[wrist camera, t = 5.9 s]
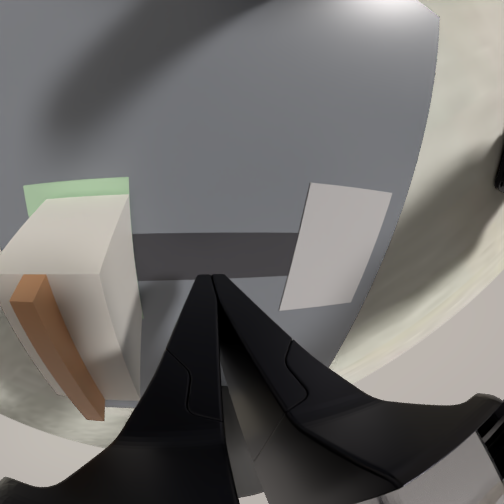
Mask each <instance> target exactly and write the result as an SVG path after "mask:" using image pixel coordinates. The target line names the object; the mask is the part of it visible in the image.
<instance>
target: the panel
mask: <svg viewBox="0 0 504 504" xmlns="http://www.w3.org/2000/svg"><path fill="white" fill-rule="evenodd" d="M439 21H440V16H438V15H437V14H436V13H434V12H433V11H432V10H430V9H429V8H428V7H426V6H425V5H424V4H422V3H421V2H419V1H418V0H0V248H1V251H3V249H4V248H5V247H6V245H7V244H8V243H9V241H10V240H11V239H12V238H13V236H14V235H15V234H16V233H17V232H18V230H19V229H20V228H21V227H22V226H23V224H24V223H25V222H26V221H27V220H28V219H29V217H30V216H31V215H32V214H33V213H34V212H35V211H36V210H37V209H38V208H39V206H40V205H41V204H42V203H43V202H44V201H45V200H46V199H55V198H67V197H82V196H100V195H122V194H129V204H130V219H131V231H132V242H133V252H134V260H135V268H136V276H137V283H138V289H139V296H140V302H141V308H142V327H141V353H140V399H141V397H142V395H143V394H144V392H145V390H146V388H147V386H148V385H149V383H150V381H151V379H152V377H153V375H154V373H155V371H156V369H157V367H158V364H159V362H160V360H161V358H162V355H163V353H164V351H165V348H166V346H167V343H168V341H169V339H170V336H171V334H172V331H173V329H174V327H175V324H176V322H177V320H178V317H179V315H180V313H181V310H182V308H183V306H184V304H185V301H186V299H187V297H188V294H189V292H190V290H191V288H192V285H193V283H194V281H195V279H196V277H197V275H199V274H209V275H212V274H225V275H226V276H227V277H228V278H229V279H230V280H231V281H232V282H233V283H234V284H235V285H236V286H237V287H238V288H239V289H240V290H242V291H243V292H244V293H245V294H246V295H247V296H248V297H249V298H250V299H251V300H252V301H253V302H254V303H255V304H256V305H257V306H258V307H259V308H260V309H261V310H263V311H264V312H265V313H266V314H267V315H268V316H269V317H270V318H271V319H272V320H273V321H274V322H275V323H276V324H278V325H279V326H280V327H281V328H282V329H283V330H284V331H285V332H286V333H287V334H288V335H289V336H291V337H292V340H295V341H296V342H297V343H298V344H300V345H301V346H302V347H303V348H304V349H305V350H306V351H308V352H309V353H310V354H311V355H312V356H313V357H315V358H316V359H317V360H319V361H320V362H321V363H323V364H324V365H325V366H327V367H328V368H329V366H330V365H331V363H332V361H333V359H334V358H335V356H336V354H337V353H338V351H339V349H340V347H341V345H342V344H343V342H344V340H345V338H346V336H347V334H348V332H349V331H350V329H351V327H352V325H353V323H354V321H355V319H356V317H357V315H358V313H359V311H360V309H361V307H362V305H363V303H364V301H365V299H366V297H367V295H368V292H369V290H370V288H371V286H372V284H373V281H374V279H375V277H376V275H377V272H378V270H379V268H380V266H381V263H382V261H383V258H384V256H385V254H386V251H387V249H388V246H389V244H390V241H391V238H392V236H393V233H394V231H395V228H396V225H397V222H398V220H399V217H400V214H401V211H402V208H403V205H404V202H405V199H406V196H407V193H408V190H409V187H410V184H411V180H412V177H413V174H414V170H415V167H416V163H417V159H418V156H419V152H420V148H421V144H422V140H423V136H424V131H425V127H426V122H427V118H428V113H429V107H430V102H431V96H432V91H433V84H434V77H435V70H436V62H437V52H438V40H439ZM220 366H221V362H220ZM221 383H222V386H227V383H226V379H225V376H224V373H223V369H222V366H221ZM138 402H139V401H127V400H105V407H120V408H135V407H136V405H137V404H138Z"/></svg>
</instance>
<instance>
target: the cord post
mask: <svg viewBox="0 0 504 504" xmlns="http://www.w3.org/2000/svg"><path fill="white" fill-rule="evenodd" d="M222 399H223V413H224V426H225V436H226V444H227V450H228V454H229V459H230V464H231V469H232V473H233V478H234V482H235V486H236V491H237V495H238V498H240V497H246V496H251V495H255V494H259V493H262V492H264V490H263V488H262V485H261V483H260V480H259V477H258V475H257V472H256V470H255V467H254V464H253V463H254V462H253V461H252V458H251V456H250V453H249V450H248V447H247V444H246V441H245V439H244V436H243V433H242V430H241V427H240V424H239V421H238V418H237V415H236V412H235V408H234V405H233V402H232V399H231V396H230V393H229V389H228V386H222Z"/></svg>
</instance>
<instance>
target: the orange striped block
mask: <svg viewBox="0 0 504 504" xmlns="http://www.w3.org/2000/svg"><path fill="white" fill-rule="evenodd" d="M0 306H1V308H2V310H3V312H4V314H5V315H6V317H7V319H8V321H9V323H10V325H11V327H12V328H13V330H14V332H15V334H16V335H17V337H18V339H19V340H20V342H21V344H22V345H23V347H24V349H25V350H26V352H27V353H28V355H29V356H30V358H31V359H32V361H33V362H34V364H35V365H36V367H37V368H38V370H39V371H40V372H41V374H42V375H43V377H44V378H45V379H46V381H47V382H48V383H49V385H50V386H51V387H52V388H53V390H54V391H55V392H56V394H57V395H62V396H68V398H69V399H70V400H71V401H72V403H73V404H74V405H75V406H76V407H77V409H78V410H79V411H80V412H81V413H82V415H83V416H84V417H85V418H86V419H87V420H95V421H104V414H105V400H127V401H139V400H140V353H141V327H142V308H141V302H140V296H139V289H138V283H137V276H136V268H135V260H134V252H133V242H132V231H131V219H130V204H129V194H122V195H100V196H82V197H67V198H55V199H46V200H45V201H44V202H43V203H42V204H41V205H40V206H39V208H38V209H37V210H36V211H35V212H34V213H33V214H32V215H31V216H30V217H29V219H28V220H27V221H26V222H25V223H24V224H23V226H22V227H21V228H20V229H19V230H18V232H17V233H16V234H15V235H14V236H13V238H12V239H11V240H10V241H9V243H8V244H7V245H6V247H5V248H4V249H3V251H2V252H1V253H0Z"/></svg>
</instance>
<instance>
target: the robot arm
mask: <svg viewBox="0 0 504 504" xmlns="http://www.w3.org/2000/svg"><path fill="white" fill-rule="evenodd" d="M495 188H496V189H498V190H499V191H501V192H503V193H504V153H503V157H502V161H501V164H500V168H499V172H498V175H497V178H496V182H495ZM220 362H221V366H222V369H223V373H224V376H225V379H226V383H227V386H228V389H229V393H230V396H231V399H232V402H233V405H234V408H235V412H236V415H237V418H238V421H239V424H240V427H241V430H242V433H243V436H244V439H245V441H246V444H247V447H248V450H249V453H250V456H251V458H252V461H253V462H254V463H253V464H254V467H255V470H256V472H257V475H258V477H259V480H260V483H261V485H262V488H263V490H264V493H265V495H266V498H267V500H268V503H269V504H504V400H503V401H502V400H501V399H500V398H497V397H495V396H493V395H489V394H480V393H477V394H475V395H474V396H473V397H472V398H470V399H469V400H468V401H467V402H464V403H461V404H458V405H450V406H449V405H447V406H446V405H423V404H410V403H399V402H390V401H384V400H380V399H377V398H374V397H372V396H370V395H368V394H366V393H364V392H363V391H361V390H360V389H358V388H357V387H355V386H354V385H352V384H351V383H349V382H348V381H346V380H345V379H344V378H342V377H341V376H339V375H338V374H336V373H335V372H333V371H332V370H331V369H329V368H328V367H327V366H325V365H324V364H323V363H321V362H320V361H319V360H317V359H316V358H315V357H313V356H312V355H311V354H310V353H309V352H308V351H306V350H305V349H304V348H303V347H302V346H301V345H300V344H298V343H297V342H296V341H295V340H292V337H291V336H289V335H288V334H287V333H286V332H285V331H284V330H283V329H282V328H281V327H280V326H279V325H278V324H276V323H275V322H274V321H273V320H272V319H271V318H270V317H269V316H268V315H267V314H266V313H265V312H264V311H263V310H261V309H260V308H259V307H258V306H257V305H256V304H255V303H254V302H253V301H252V300H251V299H250V298H249V297H248V296H247V295H246V294H245V293H244V292H243V291H242V290H240V289H239V288H238V287H237V286H236V285H235V284H234V283H233V282H232V281H231V280H230V279H229V278H228V277H227V276H226V275H225V274H212V275H209V274H199V275H197V277H196V279H195V281H194V283H193V285H192V288H191V290H190V292H189V294H188V297H187V299H186V301H185V304H184V306H183V308H182V310H181V313H180V315H179V317H178V320H177V322H176V324H175V327H174V329H173V331H172V334H171V336H170V339H169V341H168V343H167V346H166V348H165V351H164V353H163V355H162V358H161V360H160V362H159V364H158V367H157V369H156V371H155V373H154V375H153V377H152V379H151V381H150V383H149V385H148V386H147V388H146V390H145V392H144V394H143V395H142V397H141V399H140V400H139V402H138V404H137V405H136V407H135V409H134V411H133V412H132V414H131V416H130V417H129V419H128V421H127V423H126V424H125V426H124V428H123V429H122V431H121V432H120V434H119V435H118V437H117V438H116V439H115V440H114V441H113V442H112V443H111V444H110V445H109V446H108V447H107V448H106V449H105V450H103V451H102V452H101V453H99V454H98V455H97V456H96V457H94V458H93V459H92V460H90V461H89V462H88V463H86V464H85V465H84V466H82V467H81V468H80V469H79V470H77V471H76V472H75V473H73V474H72V475H70V476H69V477H68V478H66V479H65V480H63V481H62V482H60V483H58V484H56V485H53V486H50V487H35V486H31V485H28V484H25V483H23V482H20V481H17V480H15V479H11V478H8V477H4V478H3V479H2V480H1V481H0V504H240V503H239V499H238V495H237V491H236V486H235V482H234V478H233V473H232V469H231V464H230V459H229V454H228V450H227V444H226V436H225V426H224V413H223V399H222V383H221V366H220Z"/></svg>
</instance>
